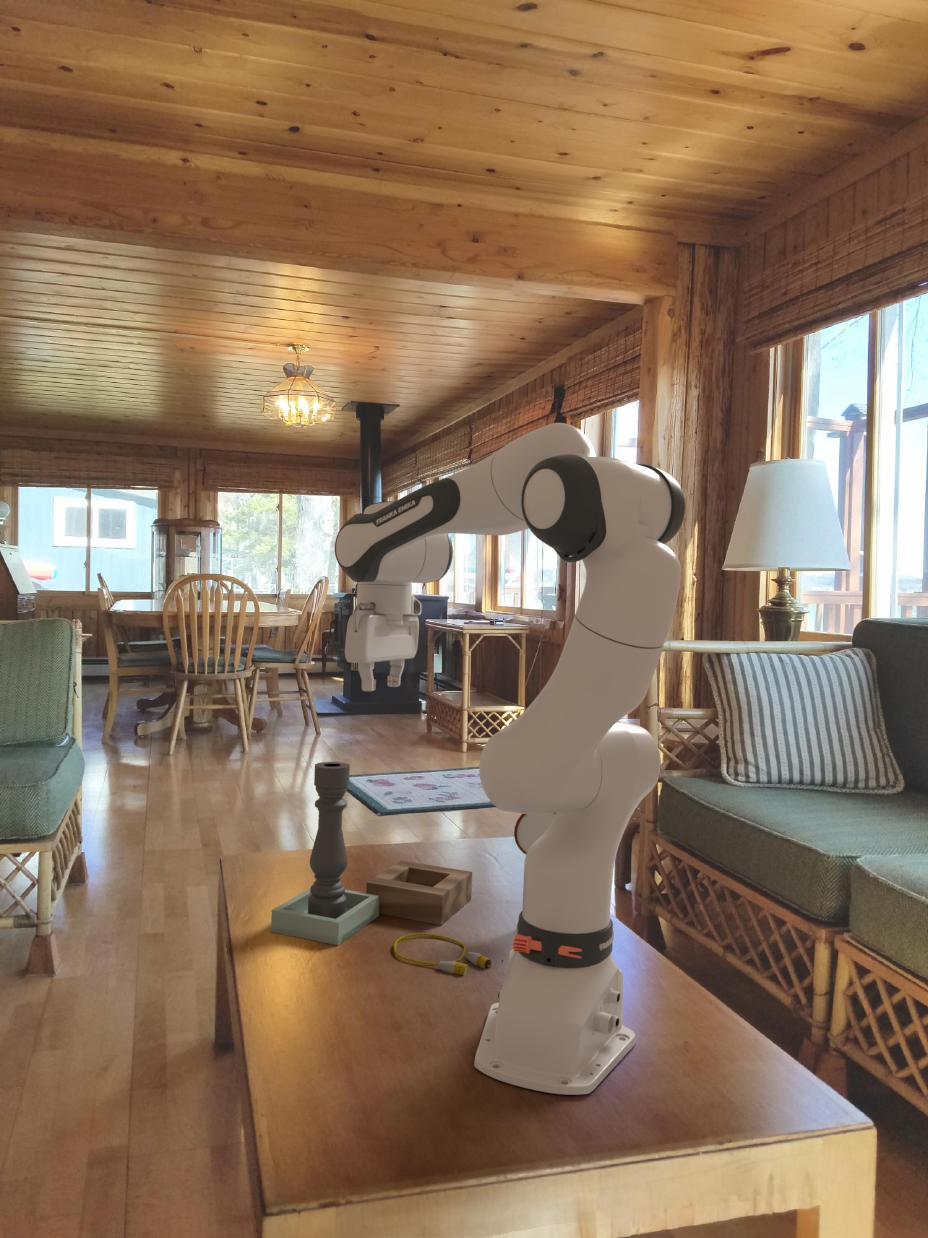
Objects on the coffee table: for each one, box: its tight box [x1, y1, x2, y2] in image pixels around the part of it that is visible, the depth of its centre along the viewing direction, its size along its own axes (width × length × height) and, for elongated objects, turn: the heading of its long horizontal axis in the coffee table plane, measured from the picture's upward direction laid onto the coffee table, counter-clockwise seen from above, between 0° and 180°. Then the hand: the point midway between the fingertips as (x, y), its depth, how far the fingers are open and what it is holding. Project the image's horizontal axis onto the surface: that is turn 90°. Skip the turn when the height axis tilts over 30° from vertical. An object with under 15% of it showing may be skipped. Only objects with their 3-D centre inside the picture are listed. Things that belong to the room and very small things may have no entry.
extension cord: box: [393, 932, 492, 976], centre depth 135 cm, size 12×16×2 cm
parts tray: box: [270, 888, 380, 946], centre depth 146 cm, size 14×12×4 cm
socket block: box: [365, 860, 473, 926], centre depth 157 cm, size 14×14×5 cm
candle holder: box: [308, 761, 351, 919], centre depth 146 cm, size 6×6×25 cm
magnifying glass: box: [513, 813, 556, 855], centre depth 149 cm, size 9×2×20 cm, turn 102°
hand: (381, 688), depth 146 cm, fingers open, 8 cm apart
